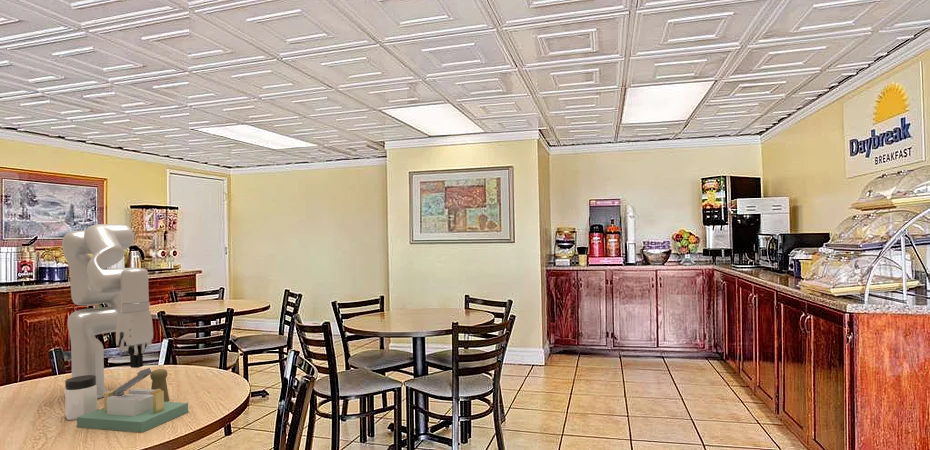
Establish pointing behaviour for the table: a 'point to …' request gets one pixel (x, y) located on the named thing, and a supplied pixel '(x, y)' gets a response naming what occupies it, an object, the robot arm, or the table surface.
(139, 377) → the strap
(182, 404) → the board
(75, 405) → the jar
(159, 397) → the lug
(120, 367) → the table surface
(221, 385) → the table surface
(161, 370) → the cork
